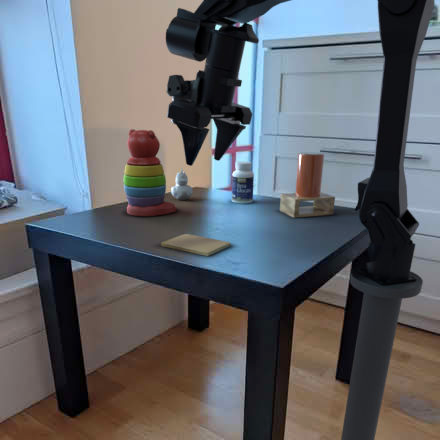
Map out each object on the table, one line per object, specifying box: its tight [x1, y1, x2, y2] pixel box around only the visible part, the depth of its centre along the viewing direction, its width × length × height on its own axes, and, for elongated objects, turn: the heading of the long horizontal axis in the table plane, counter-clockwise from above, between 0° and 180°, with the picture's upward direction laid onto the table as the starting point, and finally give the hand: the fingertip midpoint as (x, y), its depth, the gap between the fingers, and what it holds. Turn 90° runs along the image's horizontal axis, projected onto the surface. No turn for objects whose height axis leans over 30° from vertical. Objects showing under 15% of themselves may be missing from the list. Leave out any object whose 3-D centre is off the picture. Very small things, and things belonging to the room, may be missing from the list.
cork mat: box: [160, 233, 232, 257], centre depth 73 cm, size 10×7×1 cm
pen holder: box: [294, 152, 325, 198], centre depth 93 cm, size 6×6×9 cm
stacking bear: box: [123, 128, 177, 217], centre depth 93 cm, size 11×10×18 cm
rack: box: [279, 191, 336, 219], centre depth 95 cm, size 7×10×4 cm
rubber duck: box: [170, 168, 193, 201], centre depth 109 cm, size 5×7×8 cm
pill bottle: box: [231, 161, 255, 205], centre depth 105 cm, size 5×5×10 cm
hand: (203, 162), depth 77 cm, fingers open, 9 cm apart
